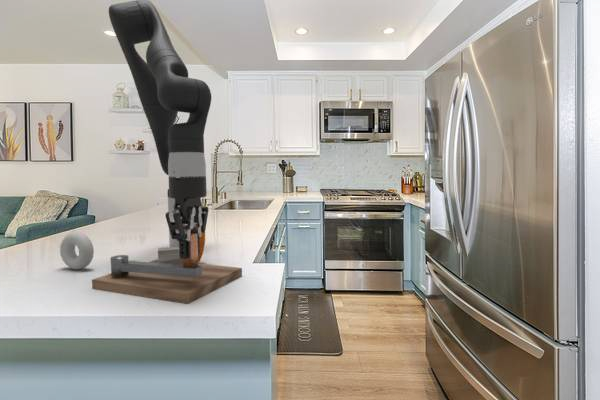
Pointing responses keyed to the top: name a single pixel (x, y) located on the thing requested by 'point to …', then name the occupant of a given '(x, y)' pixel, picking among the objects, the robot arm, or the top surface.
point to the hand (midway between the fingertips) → (190, 256)
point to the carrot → (201, 246)
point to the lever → (159, 264)
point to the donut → (70, 255)
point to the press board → (169, 280)
